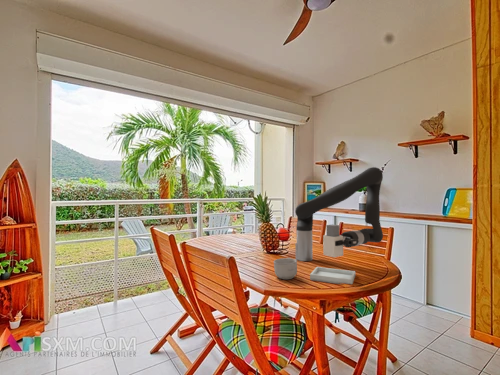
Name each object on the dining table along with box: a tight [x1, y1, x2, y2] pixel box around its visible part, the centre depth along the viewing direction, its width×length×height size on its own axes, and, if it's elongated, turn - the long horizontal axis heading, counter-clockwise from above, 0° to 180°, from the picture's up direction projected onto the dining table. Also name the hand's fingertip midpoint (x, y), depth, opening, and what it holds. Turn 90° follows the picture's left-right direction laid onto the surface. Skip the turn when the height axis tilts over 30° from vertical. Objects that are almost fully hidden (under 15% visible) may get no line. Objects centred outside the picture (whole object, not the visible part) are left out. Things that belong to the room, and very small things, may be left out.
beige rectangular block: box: [322, 234, 344, 258], centre depth 125 cm, size 6×6×9 cm
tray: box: [309, 266, 356, 286], centre depth 125 cm, size 18×14×2 cm
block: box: [325, 224, 340, 237], centre depth 126 cm, size 4×4×13 cm
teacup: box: [273, 257, 298, 280], centre depth 128 cm, size 14×11×8 cm
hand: (329, 242), depth 124 cm, fingers closed on beige rectangular block, 6 cm apart
